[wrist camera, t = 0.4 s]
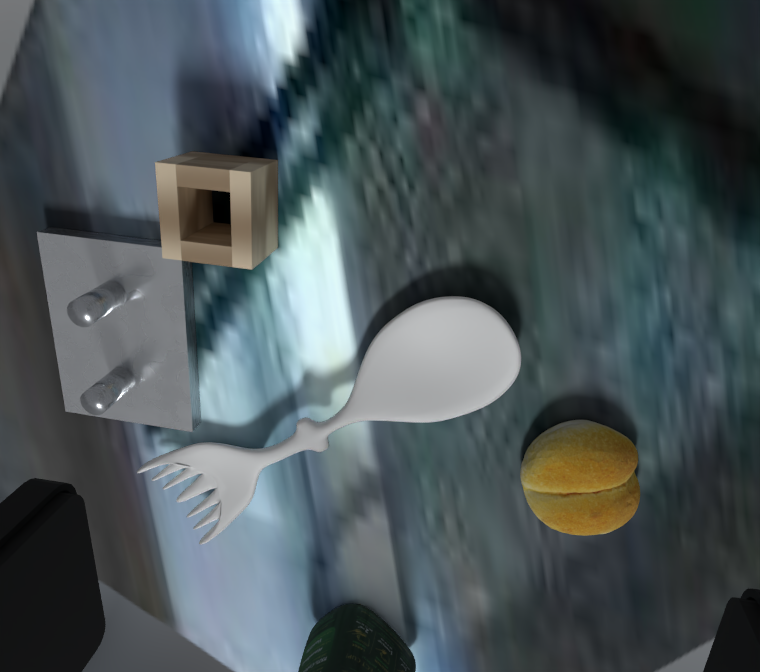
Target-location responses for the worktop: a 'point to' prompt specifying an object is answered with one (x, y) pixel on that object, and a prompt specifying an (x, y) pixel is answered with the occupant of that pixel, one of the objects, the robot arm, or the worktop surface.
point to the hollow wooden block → (195, 208)
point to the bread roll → (581, 478)
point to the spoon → (371, 397)
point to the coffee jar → (355, 644)
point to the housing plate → (122, 327)
